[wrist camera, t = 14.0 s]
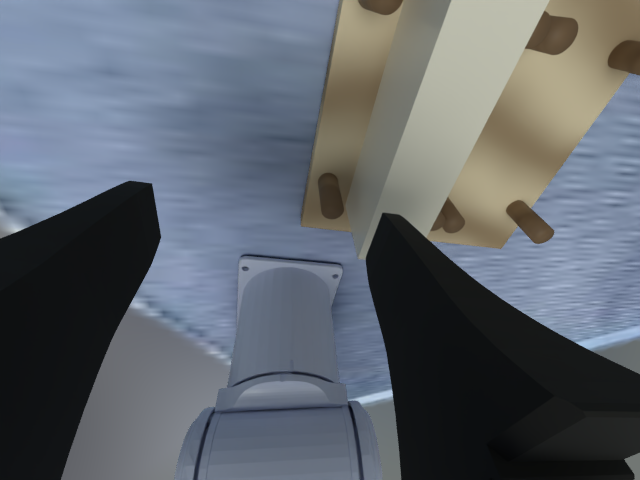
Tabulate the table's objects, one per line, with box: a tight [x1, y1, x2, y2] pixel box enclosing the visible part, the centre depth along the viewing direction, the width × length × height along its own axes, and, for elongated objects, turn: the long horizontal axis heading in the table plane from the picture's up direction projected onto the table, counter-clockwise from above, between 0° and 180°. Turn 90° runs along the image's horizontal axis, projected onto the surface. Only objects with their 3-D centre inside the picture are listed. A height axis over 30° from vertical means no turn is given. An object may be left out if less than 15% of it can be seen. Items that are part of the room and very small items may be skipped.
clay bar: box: [345, 0, 550, 260], centre depth 14 cm, size 12×3×5 cm, turn 169°
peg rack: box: [301, 0, 640, 249], centre depth 16 cm, size 16×15×4 cm
